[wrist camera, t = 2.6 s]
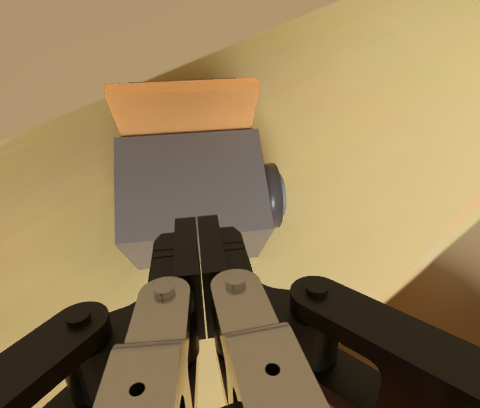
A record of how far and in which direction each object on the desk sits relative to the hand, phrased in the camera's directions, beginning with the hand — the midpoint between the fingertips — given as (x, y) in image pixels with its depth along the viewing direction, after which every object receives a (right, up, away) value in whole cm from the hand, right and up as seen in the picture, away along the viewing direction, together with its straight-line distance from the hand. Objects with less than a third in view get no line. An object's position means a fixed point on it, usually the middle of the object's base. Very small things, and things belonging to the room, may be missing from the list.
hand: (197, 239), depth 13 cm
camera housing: (-2, 0, +25) cm, 26 cm away
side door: (-4, +5, +26) cm, 27 cm away
